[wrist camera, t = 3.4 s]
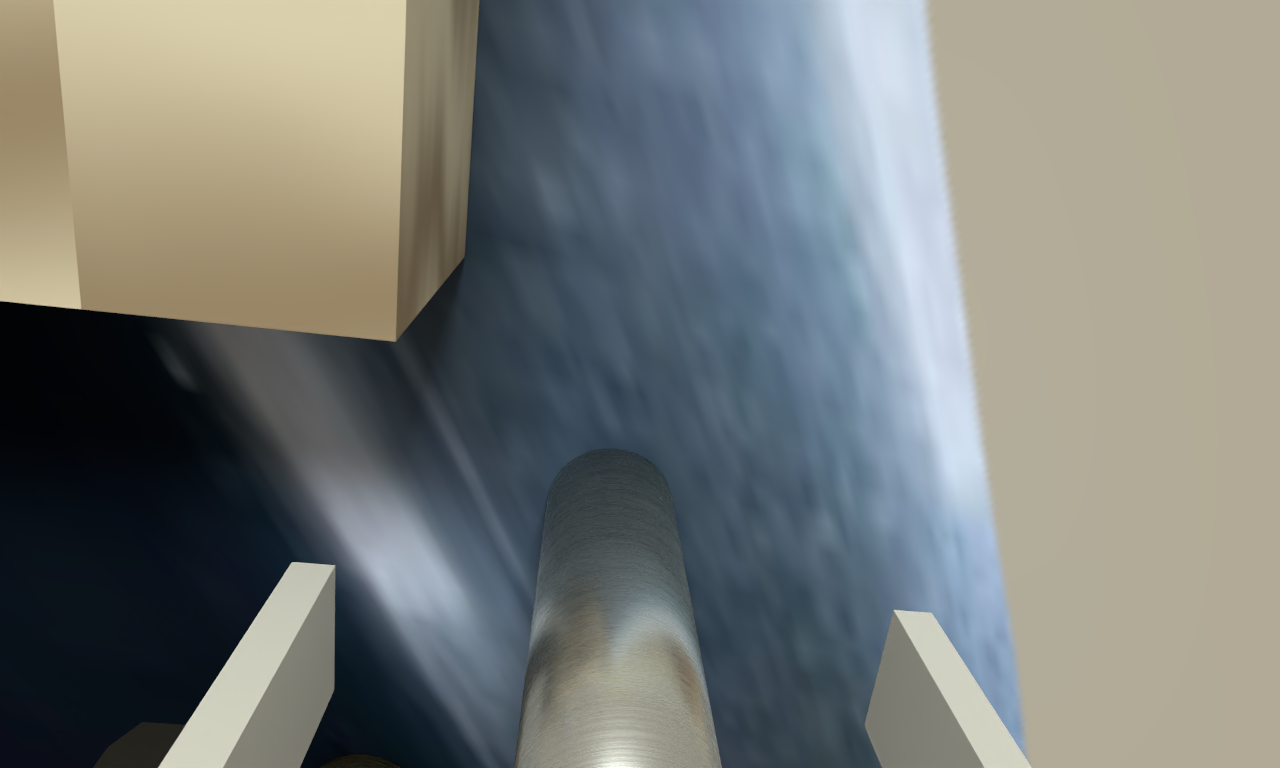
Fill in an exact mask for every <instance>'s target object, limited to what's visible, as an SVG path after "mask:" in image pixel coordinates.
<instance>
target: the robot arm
mask: <svg viewBox="0 0 1280 768" xmlns="http://www.w3.org/2000/svg"><path fill="white" fill-rule="evenodd" d="M334 645H335V565H324V564H312V563H299V562H292V563H291V565H290V566H289V568H288V569H287V571H286V572H285V574H284V575H283V577H282V578H281V580H280V581H279V583H278V584H277V586H276V588H275V589H274V591H273V592H272V594H271V595H270V597H269V598H268V600H267V601H266V603H265V604H264V606H263V608H262V609H261V611H260V612H259V614H258V615H257V617H256V618H255V620H254V621H253V623H252V624H251V626H250V627H249V629H248V631H247V632H246V634H245V635H244V637H243V638H242V640H241V641H240V643H239V644H238V646H237V647H236V649H235V651H234V652H233V654H232V655H231V657H230V658H229V660H228V661H227V663H226V664H225V666H224V667H223V669H222V670H221V672H220V674H219V675H218V677H217V678H216V680H215V681H214V683H213V684H212V686H211V687H210V689H209V690H208V692H207V693H206V695H205V697H204V698H203V700H202V701H201V703H200V704H199V706H198V707H197V709H196V710H195V712H194V713H193V715H192V717H191V718H190V720H189V721H188V723H187V724H186V725H178V724H163V723H147V722H142V723H141V724H139V725H138V726H136V727H135V728H134V729H132V730H131V731H130V732H128V733H127V734H126V735H124V736H123V737H121V738H120V739H119V740H117V741H116V742H115V743H113V744H112V745H110V746H109V747H108V748H107V749H106V751H105V752H104V754H103V755H102V756H101V758H100V759H99V760H98V762H97V763H96V764H95V766H94V767H93V768H300V766H301V764H302V761H303V759H304V757H305V755H306V752H307V750H308V748H309V746H310V743H311V741H312V739H313V736H314V734H315V732H316V730H317V727H318V725H319V723H320V721H321V718H322V716H323V714H324V712H325V709H326V707H327V705H328V702H329V700H330V698H331V696H332V693H333V691H334ZM864 726H865V728H866V731H867V733H868V735H869V738H870V740H871V743H872V745H873V747H874V750H875V752H876V754H877V757H878V759H879V761H880V764H881V766H882V768H1031V766H1030V764H1029V763H1028V761H1027V760H1026V758H1025V757H1024V755H1023V754H1022V752H1021V751H1020V749H1019V747H1018V746H1017V744H1016V743H1015V741H1014V740H1013V738H1012V737H1011V735H1010V733H1009V732H1008V730H1007V729H1006V727H1005V726H1004V724H1003V723H1002V721H1001V720H1000V718H999V716H998V715H997V713H996V712H995V710H994V709H993V707H992V706H991V704H990V702H989V701H988V699H987V698H986V696H985V695H984V693H983V692H982V690H981V689H980V687H979V685H978V684H977V682H976V681H975V679H974V678H973V676H972V675H971V673H970V672H969V670H968V668H967V667H966V665H965V664H964V662H963V661H962V659H961V658H960V656H959V654H958V653H957V651H956V650H955V648H954V647H953V645H952V644H951V642H950V641H949V639H948V637H947V636H946V634H945V633H944V631H943V630H942V628H941V627H940V625H939V623H938V622H937V620H936V619H935V617H934V616H933V614H932V613H925V612H912V611H900V610H894V611H893V615H892V619H891V623H890V627H889V631H888V635H887V638H886V642H885V646H884V650H883V654H882V658H881V662H880V666H879V670H878V674H877V678H876V682H875V685H874V689H873V693H872V697H871V701H870V705H869V709H868V713H867V717H866V721H865V725H864Z"/></svg>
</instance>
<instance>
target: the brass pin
mask: <svg viewBox="0 0 1280 768" xmlns="http://www.w3.org/2000/svg"><path fill="white" fill-rule="evenodd" d="M320 768H401V767H400V766H399V765H397V764H395V763H394V762H392V761H390V760H387V759H385V758H382V757H378V756H374V755H366V754H354V755H347V756H342V757H339V758H336V759H333V760H331V761H329V762H327V763H326V764H324V765H323V766H322V767H320Z"/></svg>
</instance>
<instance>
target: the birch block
mask: <svg viewBox="0 0 1280 768" xmlns="http://www.w3.org/2000/svg"><path fill="white" fill-rule="evenodd" d="M478 16H479V0H0V301H5V302H15V303H24V304H34V305H44V306H53V307H63V308H73V309H83V310H92V311H102V312H112V313H122V314H131V315H141V316H151V317H161V318H170V319H180V320H190V321H199V322H209V323H219V324H229V325H238V326H248V327H258V328H268V329H277V330H287V331H297V332H306V333H316V334H326V335H336V336H345V337H355V338H365V339H375V340H384V341H394V342H396V341H397V339H398V338H399V337H400V336H401V335H402V333H403V332H404V331H405V330H406V328H407V327H408V326H409V325H410V323H411V322H412V321H413V320H414V319H415V317H416V316H417V315H418V314H419V312H420V311H421V310H422V309H423V307H424V306H425V305H426V304H427V303H428V301H429V300H430V299H431V298H432V296H433V295H434V294H435V293H436V291H437V290H438V289H439V288H440V287H441V285H442V284H443V283H444V282H445V280H446V279H447V278H448V277H449V275H450V274H451V273H452V272H453V271H454V269H455V268H456V267H457V266H458V264H459V263H460V262H461V261H462V260H463V258H464V257H465V245H466V227H467V209H468V192H469V174H470V157H471V139H472V121H473V104H474V86H475V69H476V51H477V34H478Z"/></svg>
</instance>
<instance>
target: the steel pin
mask: <svg viewBox="0 0 1280 768" xmlns="http://www.w3.org/2000/svg"><path fill="white" fill-rule="evenodd" d="M514 768H722V766H721V761H720V756H719V750H718V745H717V739H716V734H715V729H714V723H713V718H712V712H711V707H710V702H709V696H708V691H707V685H706V680H705V675H704V669H703V664H702V658H701V653H700V648H699V642H698V637H697V631H696V626H695V621H694V615H693V610H692V604H691V599H690V594H689V588H688V583H687V577H686V572H685V567H684V561H683V556H682V550H681V545H680V540H679V534H678V529H677V523H676V518H675V513H674V507H673V502H672V497H671V492H670V488H669V486H668V483H667V481H666V479H665V478H664V476H663V475H662V473H661V472H660V471H659V469H658V468H657V467H656V466H655V465H654V464H652V463H651V462H650V461H648V460H647V459H645V458H644V457H642V456H640V455H638V454H635V453H633V452H629V451H626V450H620V449H600V450H595V451H591V452H588V453H585V454H583V455H581V456H579V457H577V458H575V459H573V460H572V461H570V462H569V463H568V464H567V465H566V466H564V467H563V468H562V470H561V471H560V472H559V473H558V474H557V476H556V477H555V479H554V480H553V482H552V485H551V487H550V490H549V493H548V498H547V505H546V513H545V521H544V529H543V538H542V546H541V554H540V562H539V570H538V578H537V586H536V594H535V603H534V611H533V619H532V627H531V635H530V643H529V651H528V659H527V667H526V676H525V684H524V692H523V700H522V708H521V716H520V724H519V732H518V741H517V749H516V757H515V765H514Z"/></svg>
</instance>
